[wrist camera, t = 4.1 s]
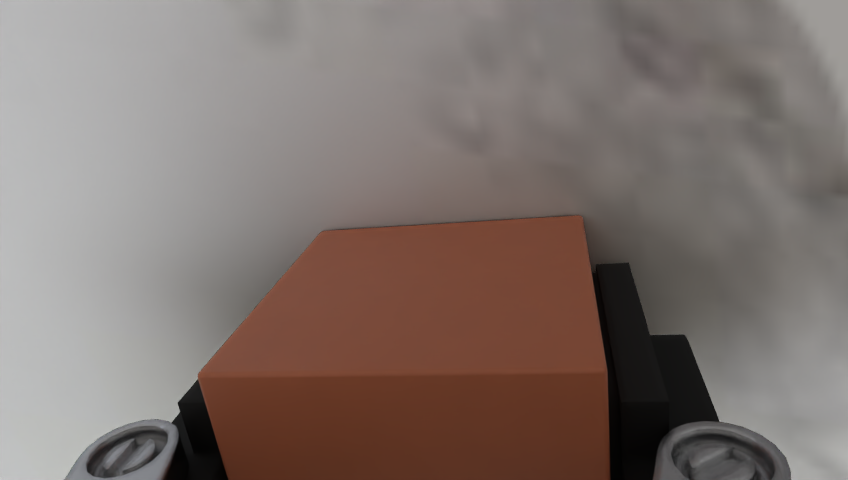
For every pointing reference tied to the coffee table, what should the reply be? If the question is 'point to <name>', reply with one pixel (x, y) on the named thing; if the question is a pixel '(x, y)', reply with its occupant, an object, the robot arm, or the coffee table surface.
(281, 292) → the block
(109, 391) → the coffee table surface
